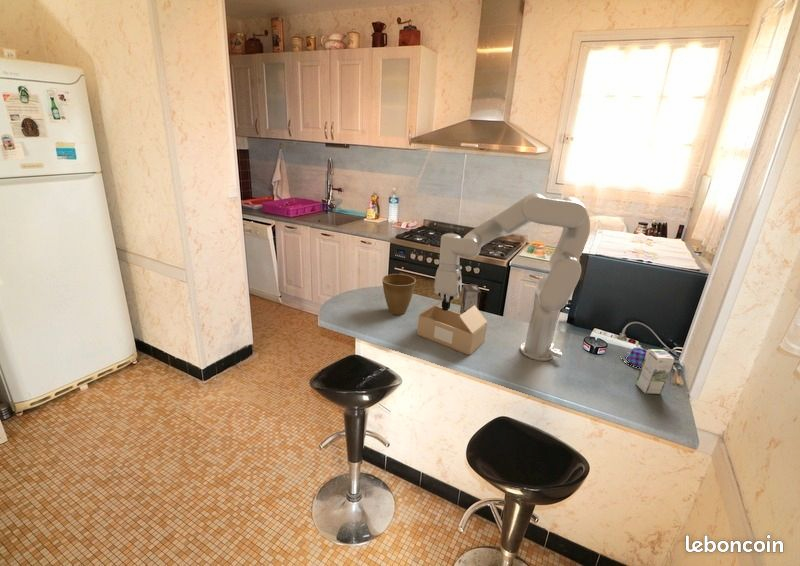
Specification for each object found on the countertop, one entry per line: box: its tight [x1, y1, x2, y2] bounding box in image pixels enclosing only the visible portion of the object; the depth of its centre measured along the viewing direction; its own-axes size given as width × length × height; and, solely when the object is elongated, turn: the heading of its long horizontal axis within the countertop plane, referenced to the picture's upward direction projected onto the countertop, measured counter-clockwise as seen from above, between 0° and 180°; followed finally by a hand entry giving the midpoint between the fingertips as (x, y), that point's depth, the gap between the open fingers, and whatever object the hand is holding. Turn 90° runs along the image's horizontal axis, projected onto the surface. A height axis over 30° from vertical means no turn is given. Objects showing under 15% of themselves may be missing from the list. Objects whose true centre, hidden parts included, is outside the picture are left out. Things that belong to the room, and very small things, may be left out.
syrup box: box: [635, 348, 675, 395], centre depth 131 cm, size 6×6×14 cm
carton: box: [416, 305, 488, 356], centre depth 156 cm, size 24×13×9 cm, turn 54°
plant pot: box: [381, 273, 417, 316], centre depth 176 cm, size 15×15×16 cm
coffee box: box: [459, 283, 482, 314], centre depth 171 cm, size 9×6×16 cm
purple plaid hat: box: [620, 347, 647, 370], centre depth 149 cm, size 12×12×5 cm
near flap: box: [459, 305, 488, 334], centre depth 149 cm, size 8×13×1 cm
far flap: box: [418, 300, 442, 316], centre depth 158 cm, size 8×13×1 cm
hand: (445, 309), depth 156 cm, fingers closed
